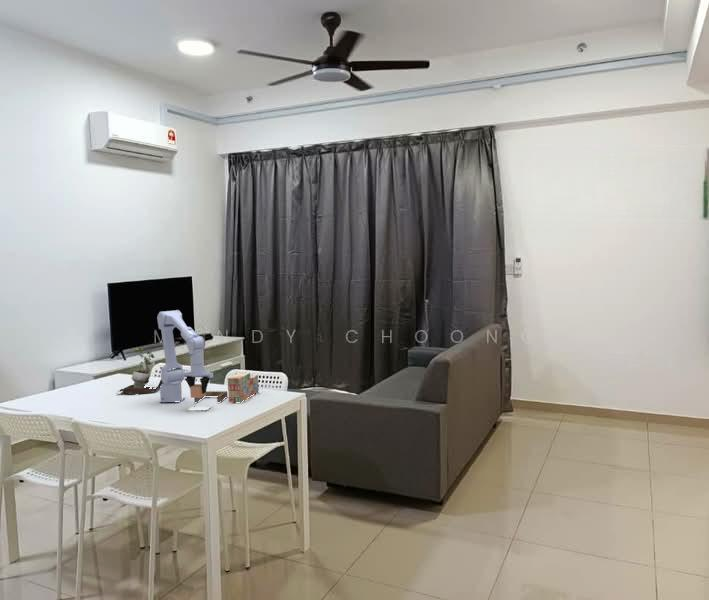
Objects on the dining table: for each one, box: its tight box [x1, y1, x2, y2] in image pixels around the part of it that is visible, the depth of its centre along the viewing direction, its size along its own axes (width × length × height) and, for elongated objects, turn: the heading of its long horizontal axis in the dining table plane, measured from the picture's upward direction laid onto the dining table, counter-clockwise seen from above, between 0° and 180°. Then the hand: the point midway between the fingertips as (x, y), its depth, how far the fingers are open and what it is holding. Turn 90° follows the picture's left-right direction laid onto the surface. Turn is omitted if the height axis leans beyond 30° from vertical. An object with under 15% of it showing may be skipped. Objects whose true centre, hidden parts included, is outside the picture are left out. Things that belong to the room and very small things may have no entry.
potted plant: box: [116, 347, 163, 395], centre depth 296 cm, size 20×19×25 cm
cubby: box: [193, 390, 228, 403], centre depth 270 cm, size 12×11×3 cm
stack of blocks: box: [227, 372, 260, 403], centre depth 273 cm, size 21×6×12 cm, turn 166°
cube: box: [189, 383, 206, 399], centre depth 253 cm, size 5×5×5 cm
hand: (198, 392), depth 254 cm, fingers closed on cube, 5 cm apart
